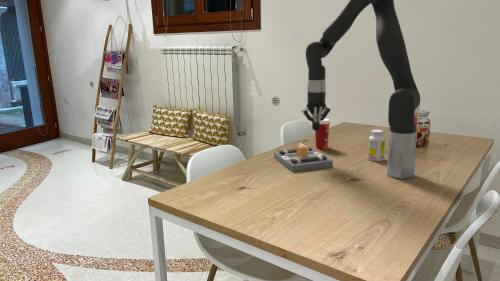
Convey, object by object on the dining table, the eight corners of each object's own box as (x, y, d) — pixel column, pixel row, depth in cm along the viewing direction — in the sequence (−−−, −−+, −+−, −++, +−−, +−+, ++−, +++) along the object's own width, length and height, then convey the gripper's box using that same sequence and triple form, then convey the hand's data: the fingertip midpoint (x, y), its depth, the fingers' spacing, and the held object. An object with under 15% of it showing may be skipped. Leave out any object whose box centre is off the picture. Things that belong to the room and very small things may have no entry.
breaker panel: (332, 166, 161) (332, 159, 160) (292, 171, 156) (292, 164, 155) (310, 152, 181) (310, 146, 181) (274, 157, 177) (273, 150, 176)
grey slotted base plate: (326, 165, 163) (326, 156, 162) (293, 169, 159) (293, 160, 158) (309, 154, 179) (309, 146, 178) (279, 158, 175) (279, 150, 174)
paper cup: (331, 149, 186) (331, 121, 182) (315, 150, 186) (315, 121, 182) (328, 145, 193) (328, 117, 190) (312, 145, 193) (313, 118, 190)
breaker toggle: (307, 157, 166) (307, 145, 165) (301, 157, 166) (301, 146, 164) (302, 154, 171) (302, 142, 170) (296, 154, 170) (296, 143, 169)
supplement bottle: (382, 157, 172) (383, 128, 168) (385, 161, 165) (387, 132, 162) (366, 157, 172) (367, 129, 169) (369, 161, 166) (371, 132, 163)
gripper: (305, 92, 158) (305, 133, 162) (334, 90, 161) (333, 130, 166) (298, 90, 165) (298, 129, 169) (326, 88, 168) (325, 127, 173)
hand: (315, 130), depth 167 cm, fingers closed
